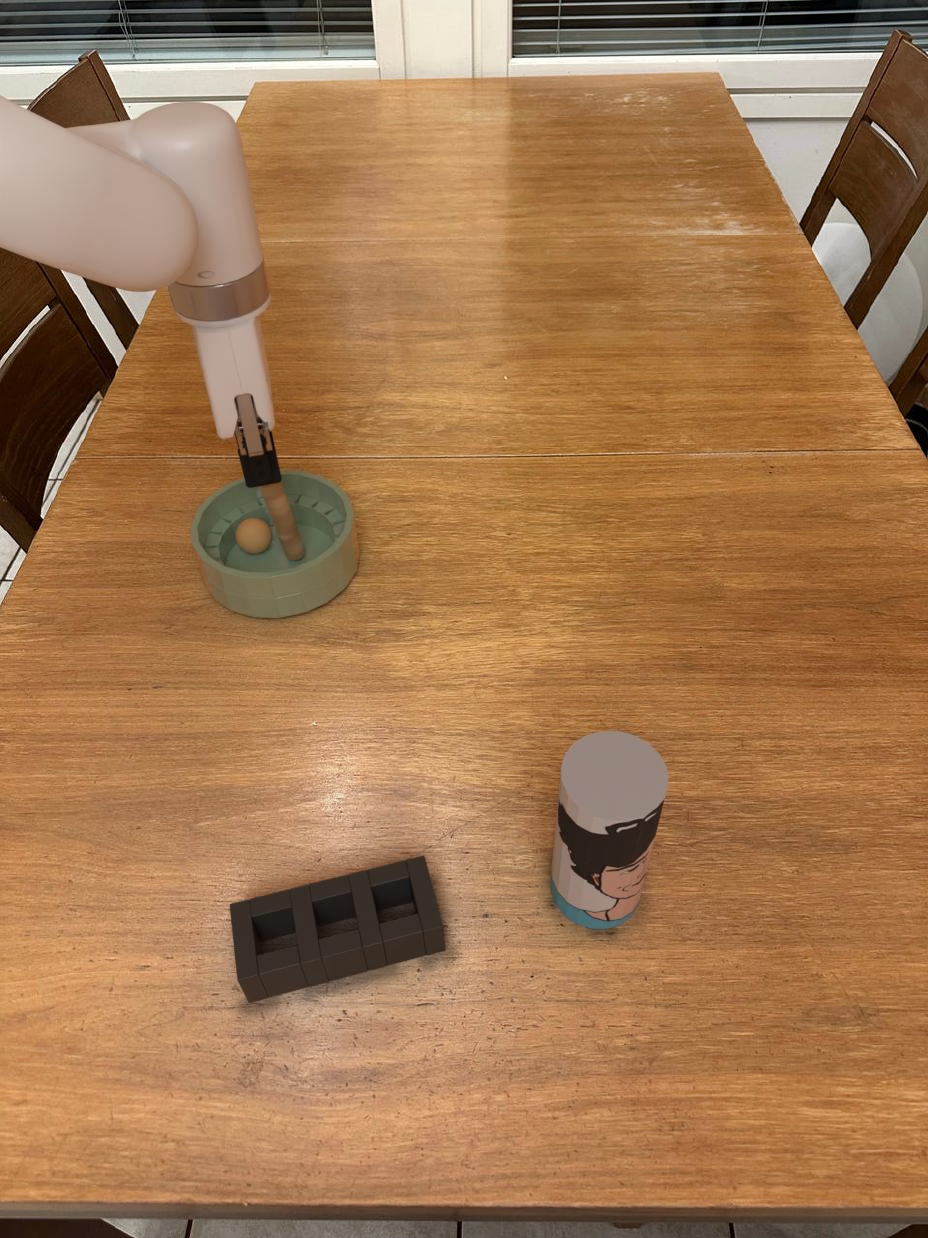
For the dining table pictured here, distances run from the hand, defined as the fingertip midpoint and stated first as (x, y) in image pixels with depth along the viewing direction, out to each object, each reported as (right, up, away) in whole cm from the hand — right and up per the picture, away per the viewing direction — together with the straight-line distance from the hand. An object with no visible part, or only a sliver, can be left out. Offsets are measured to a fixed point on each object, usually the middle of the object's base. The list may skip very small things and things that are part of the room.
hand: (262, 472), depth 86 cm
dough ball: (-3, -5, +8) cm, 10 cm away
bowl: (0, -8, +9) cm, 12 cm away
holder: (+10, -36, -18) cm, 42 cm away
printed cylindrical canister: (+28, -33, -15) cm, 46 cm away
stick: (+2, -7, +8) cm, 11 cm away
